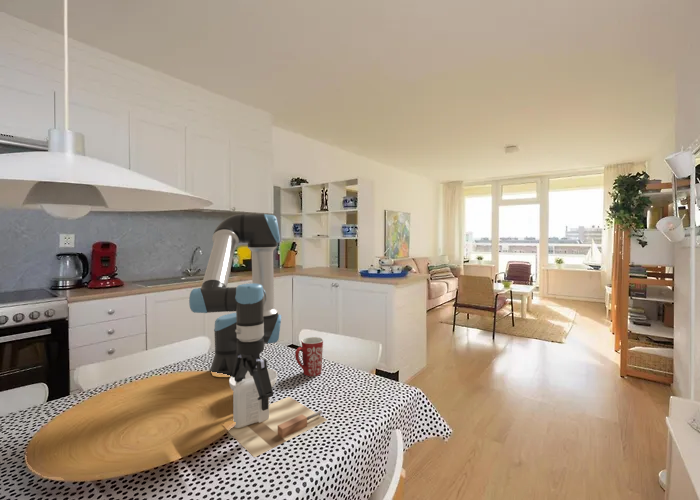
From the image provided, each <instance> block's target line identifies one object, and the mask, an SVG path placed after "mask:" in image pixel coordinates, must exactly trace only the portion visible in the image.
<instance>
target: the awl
mask: <svg viewBox="0 0 700 500" xmlns="http://www.w3.org/2000/svg"><path fill="white" fill-rule="evenodd" d="M322 413H323V412H322V410H319V411H317V412H315V414H313V415H311V416H308V417H306V416H304V415H302V414H301V415H299V416H297V417H295V418H293V419H291V420H288V421H286V422H284V423H282V424H280V425H278V435H279V436H281V437H282V438H284V437H286V436H288V435H290V434H292V433H294V432H296V431H298V430H300V429H302V428H304V427H306V426H307V420H309V419H311V418H313V417H315V416H317V415H322Z"/></svg>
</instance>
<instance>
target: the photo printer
mask: <svg viewBox="0 0 700 500" xmlns="http://www.w3.org/2000/svg"><path fill="white" fill-rule="evenodd" d="M232 394H233V397H232V398H233V400H232V401H233V402H232V407H233V411H232V412H233V413H232V415H233V421H234V422H236V425H235V426H234V427H235V428H240V427H244V426H247V425H250V424H253V423H256V422H258V398H259V394H258V391H257V388H256V385H255V382H254V379H253V378H250V379H247V380H244V381H242V382H240V383H238V384H236V385H235V386H234V391H233V390H232ZM269 404H270V397H269V398H268V415H269Z"/></svg>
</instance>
